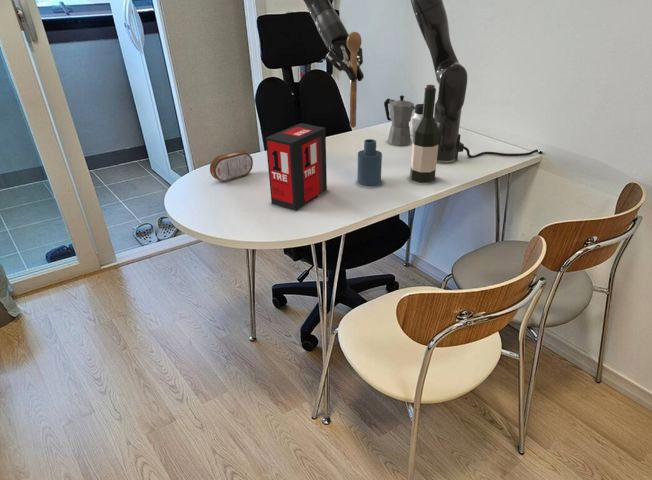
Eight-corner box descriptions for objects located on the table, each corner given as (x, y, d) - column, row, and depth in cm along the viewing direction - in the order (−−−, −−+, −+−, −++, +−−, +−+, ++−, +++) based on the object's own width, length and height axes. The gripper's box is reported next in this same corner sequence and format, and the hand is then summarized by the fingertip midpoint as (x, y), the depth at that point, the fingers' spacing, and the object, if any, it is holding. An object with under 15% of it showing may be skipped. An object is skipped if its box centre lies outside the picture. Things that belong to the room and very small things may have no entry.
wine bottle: (418, 186, 160) (426, 89, 143) (404, 177, 166) (411, 83, 149) (439, 182, 163) (450, 87, 147) (425, 173, 169) (434, 81, 153)
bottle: (376, 177, 166) (377, 136, 158) (383, 186, 160) (385, 143, 152) (354, 180, 164) (355, 138, 156) (361, 188, 158) (362, 145, 150)
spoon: (344, 128, 157) (345, 32, 142) (356, 125, 160) (358, 30, 145) (348, 130, 156) (349, 32, 140) (360, 126, 159) (363, 31, 143)
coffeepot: (419, 143, 195) (423, 96, 185) (403, 149, 190) (407, 100, 180) (391, 134, 204) (393, 89, 194) (375, 139, 199) (376, 93, 189)
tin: (250, 171, 169) (247, 146, 164) (255, 173, 167) (253, 149, 163) (211, 182, 160) (207, 157, 156) (216, 185, 158) (212, 160, 154)
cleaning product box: (295, 210, 144) (291, 143, 133) (271, 203, 148) (265, 137, 137) (326, 191, 156) (325, 127, 145) (303, 185, 160) (300, 123, 148)
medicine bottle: (428, 137, 203) (431, 107, 196) (410, 135, 204) (413, 106, 197) (429, 132, 208) (432, 102, 202) (412, 130, 209) (414, 101, 203)
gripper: (319, 22, 142) (347, 75, 141) (354, 19, 150) (381, 69, 149) (308, 40, 148) (335, 91, 147) (343, 36, 156) (368, 84, 155)
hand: (358, 79), depth 148 cm, fingers closed on spoon, 2 cm apart
